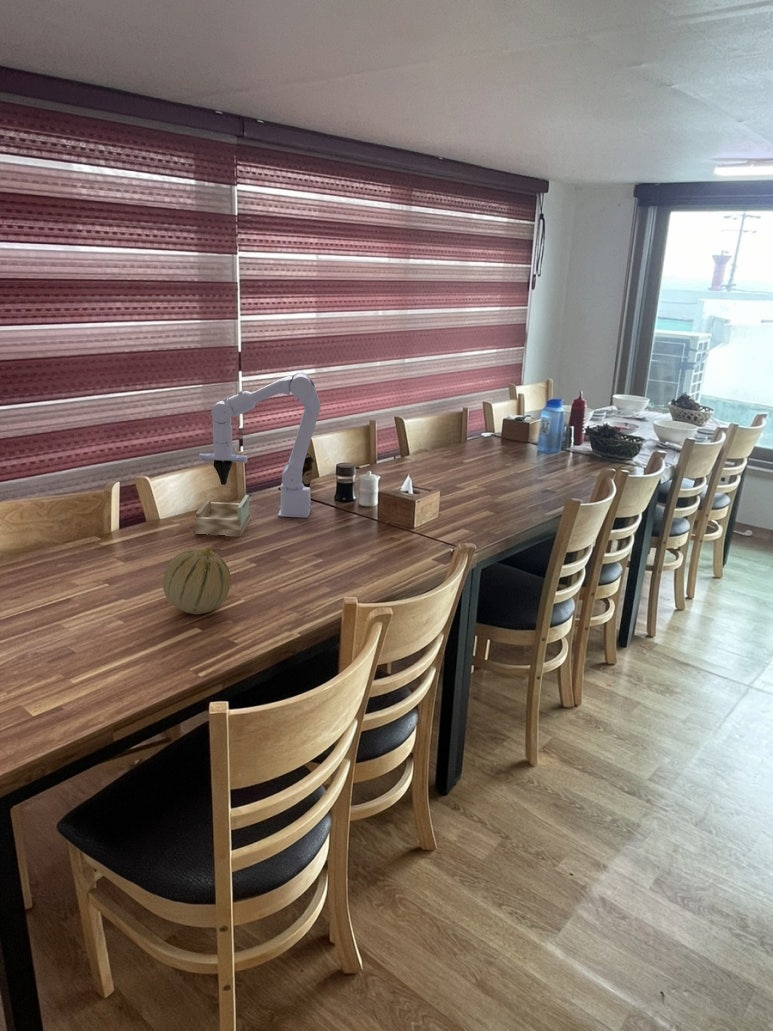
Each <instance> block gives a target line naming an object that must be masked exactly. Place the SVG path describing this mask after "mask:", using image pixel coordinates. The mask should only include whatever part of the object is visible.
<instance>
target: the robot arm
mask: <svg viewBox="0 0 773 1031" xmlns="http://www.w3.org/2000/svg"><path fill="white" fill-rule="evenodd" d="M311 378H312V377H310V375H309V374H307V373H305V372H296V373H295V374H293V375H288V376H285V377H283V378H280V379H278V380H276V381H273V382H271V383H270V384H268V385H267V384H266V386H263V387H261V388H259V389H257V390H255V391H252V392H251V391H248V390H245V391H243V390H239V391H237V394H235V395H233V396H230V397H224V398H223V400H221V401H220V400H219V401H218V402H216V403H215V404H214V405H213V407H212V408H211V411H210V413H211V414H210V415H211V417H212V442H213V443H212V445H213V446H212V448H213V451H212V452H211V453H199V454H198V461H199V462H204V461H207V462H213V464H212V465H213V468H214V469H215V471H216V473H217V475H218V478H219V480H220V481H219V482H220V485H222V486H226V485H227V483H228V477H229V474H230V471H231V468H232V465H233V464H234V463H242V464H247V463H248V455H242V454H235V453H233V451H234V450H233V426H232V417H238V416H240V415H241V414H244V413H247V412H249V411H250V410H253V409H255V407H256V404H257V403H258V402H261V401H264V400H267V399H269V398H272V397H274V396H276V395H279V394H282V395H288V396H290V394H292V395H293V396H294V397H295V398H296V399H298V400H299V401H300V403H301V405H302V406H303V408H304V409H303V410H304V411H303V412H302V416H301V420H300V423H299V426H298V430H297V433H296V437H295V439H294V443H293V447H292V450H291V453H290V455H289V458H288V461H287V463H286V464H285V465H284V466H283V468H282V475H281V484H280V509H279V511H278V513H277V516H278V517H283V518H285V517H287V518H288V517H289V518H304V519H305V518H307V519H308V518H309V515H310V513H311V508H312V505H311V493H312V492H311V487H310V488H309V487H304V484H303V483H302V469H303V465H304V461H305V457H306V454H307V453H308V450H309V447H310V444H311V441H312V438H313V434H314V431H315V427H316V424H317V421H318V417H319V414H320V411H321V401H320V399H319V394H318V392H317V389H316V386H315V382H314V381H313V380H312V379H311Z"/></svg>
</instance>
